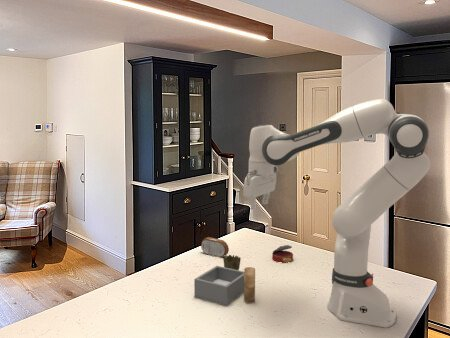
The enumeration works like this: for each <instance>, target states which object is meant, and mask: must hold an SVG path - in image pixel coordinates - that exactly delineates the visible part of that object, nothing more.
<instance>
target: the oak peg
mask: <svg viewBox="0 0 450 338" xmlns="http://www.w3.org/2000/svg"><path fill="white" fill-rule="evenodd" d="M243 272H244V293H243V302H245V303H247V304H253V303H255V302H256V268H255V267H252V266H251V267H250V266H247V267H245V268H244V269H243Z"/></svg>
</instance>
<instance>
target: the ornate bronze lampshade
mask: <svg viewBox="0 0 450 338" xmlns="http://www.w3.org/2000/svg"><path fill="white" fill-rule="evenodd" d="M222 258H223V267H225V268H230V269H234V270H239V271H240V266H241V259H242V258H241V256H239V255H232V254H229V255H228V254H227V255H225V257H222Z"/></svg>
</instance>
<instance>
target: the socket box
mask: <svg viewBox="0 0 450 338" xmlns="http://www.w3.org/2000/svg"><path fill="white" fill-rule="evenodd" d="M193 282H194V287H193V288H194V298H197V299H201V300H203V301H208V302H211V303H214V304H217V305H218V304H219V305H222V306H226V307H227V306H229V305H230V304H231V303H232V302H234V301H235V300H236V299H237V298H239V297H240V296H241V295H242V294H244V270H240V269H239V270H234V269H230V268H225V267H224V266H221V265H216V266H214V267H212V268H211V269H209V270H207V271H205V272H204V273H202V274H200V275H199V276H197V277H195V278H194V281H193Z"/></svg>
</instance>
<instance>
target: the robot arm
mask: <svg viewBox="0 0 450 338" xmlns="http://www.w3.org/2000/svg"><path fill="white" fill-rule="evenodd" d="M394 108H395V107H394V106H393V104H392V103H391V102H390V101H388V99H385V98H377V99H373V100H372V99H371V100H367V101H364V102H360V103H357V104H355V105H353V106H349V107H346V108H345V109H343V110H341V111H338V112H337V113H335V114H334V115H331V117H328V118H327V119H325V120H324V121H322V122H320V123H319V124H316V125H315V126H312V127H309V128H306V129H303V130H301V131H297V132H294V133H292V134H288V133H286V132H282V131H281V130H279V129H277V128H276V127H275V126H274V125H272V124H268V123H267V124H260V125H256V126H253V127H252V128H251V130H250V135H249V141H248V142H249V143H248V144H249V145H248V151H249V157H248V173H247V175H246V176H245V178H244V181H243V191H242V192H243V193H242V195H243V197H244V198H245V199H248V200H249V203H250V209H251V210H256V209H257V208H258V204H257V201H256V200H257V197H261V196H263V198H262V200H261V205H268V204H269V198H270V195H271V192H275V189H276V185H277V172H278V169H279V168H278V166H281V165H284V164H285V163H287V162H290V161H292V160H295V158H297V157H298V156H299V154H300V153H301V152H304V151H308V150H310V149H312V148H315V147H319V146H323V145H330V144H340V143H341V144H342V143H349V142H353V141H358V140H359V141H360V140H361V139H364V138H367V137H371V136H374V135H380V134H382V135H385V136H387V137H388V139H389V141H390V144H392V147H393V148H394V149H395V153H394V155H393V156H392V157H391V159H390V160H388V161H387V162H386V163H385V164H384V165H383V166H382V167H381V168H379V170H377V171H376V172H375V173H374V174H372V176H371V177H369V178H368V179H367V180H366V181H365V182H364V183H363V184H362V185H361V186H360V187H359V188H358V189H356V190H355V191H354V192H353V193H352V194H351V195H350V196H349V197H348V198H346V199H345V200H344V201H343V202H342V203H340V205H338V206H337V208H336V209H335V210H334V212H333V214H332V227H333V229H334V230H335V232H336V239H335V243H334V255H333V256H334V257H333V268H332V271H331V284H332V286H331V293H330V296H329V300H328V303H327V309H328V310H329V311H330V312H331V313H333V314H334V315H336V316H337V318H338V319H339V320H340V321H345V322H349V323H357V324H361V325H362V324H363V325H368V326H369V325H370V326H373V327H374V326H375V327H381V328H390V327H392V326H393V325H394V324H395V323H396V320H397V312H396V310H395V309H394V308H393V307H391V306H390V302H389V298H388V296H387V294H386V293H384V292H383V291H382V290H381V289H380V288H379V287H377V286H376V285H375V284H374V273H373V272H372V273H370V272H369V271H368V264H369V263H368V261H369V247H370V238H371V237H370V236H371V229H372V225H373V224H374V223H375V222H376V221H377V220H378V219H379V218H380V217H381V216H383V214H384V213H385V212H387V210H389V209H390V208H391V207H392V206H393V205H394V204H395V203H397V202H398V201H399V200H401V199H402V197H404V195H406V194H408V192H409V191H411V189H413V188H414V187H415V186H416V185H418V183H419V182H420V181H421V180H422V179H423V178H424V177H425V176H426V174H427V173H428V172H429V170H430V169H431V166H432V165H431V163H432V162H431V160H430V158H429V156H428V155H427V154H426V153H425V149H426V146H427V143H428V140H429V137H430V134H429V133H430V132H429V128H428V125H427V124H426V122H425V121H424V119H422V118H421V117H420V116H418V115H414V114H412V113H406V112H404V113H403V112H397V111H396V110H395V109H394Z"/></svg>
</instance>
